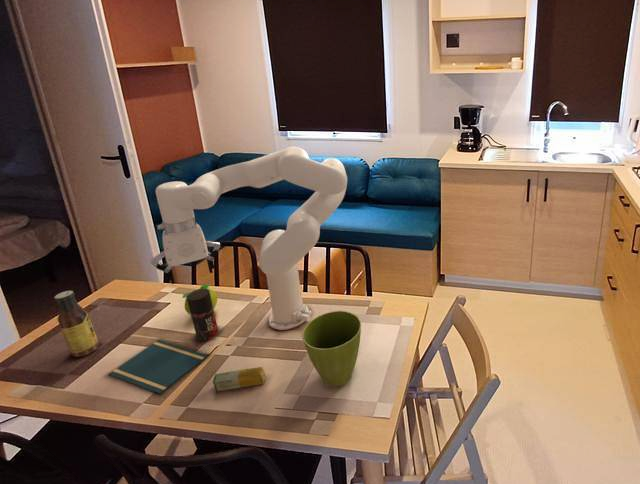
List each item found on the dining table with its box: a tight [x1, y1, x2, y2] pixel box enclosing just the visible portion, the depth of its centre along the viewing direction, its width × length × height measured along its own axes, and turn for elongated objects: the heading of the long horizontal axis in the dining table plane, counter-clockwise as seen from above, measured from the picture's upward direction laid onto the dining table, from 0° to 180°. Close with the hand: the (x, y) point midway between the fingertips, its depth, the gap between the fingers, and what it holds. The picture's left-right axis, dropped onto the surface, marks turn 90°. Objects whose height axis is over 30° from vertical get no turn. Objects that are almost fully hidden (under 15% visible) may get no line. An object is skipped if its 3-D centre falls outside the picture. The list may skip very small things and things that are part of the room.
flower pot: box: [301, 310, 362, 388], centre depth 105 cm, size 15×15×16 cm
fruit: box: [181, 283, 218, 316], centre depth 131 cm, size 9×9×10 cm
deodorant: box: [187, 288, 219, 342], centre depth 121 cm, size 6×6×15 cm
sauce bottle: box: [53, 290, 99, 358], centre depth 113 cm, size 6×6×20 cm
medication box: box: [212, 366, 266, 393], centre depth 104 cm, size 12×3×4 cm, turn 101°
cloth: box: [108, 339, 208, 395], centre depth 111 cm, size 20×14×1 cm
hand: (192, 276), depth 116 cm, fingers open, 9 cm apart
